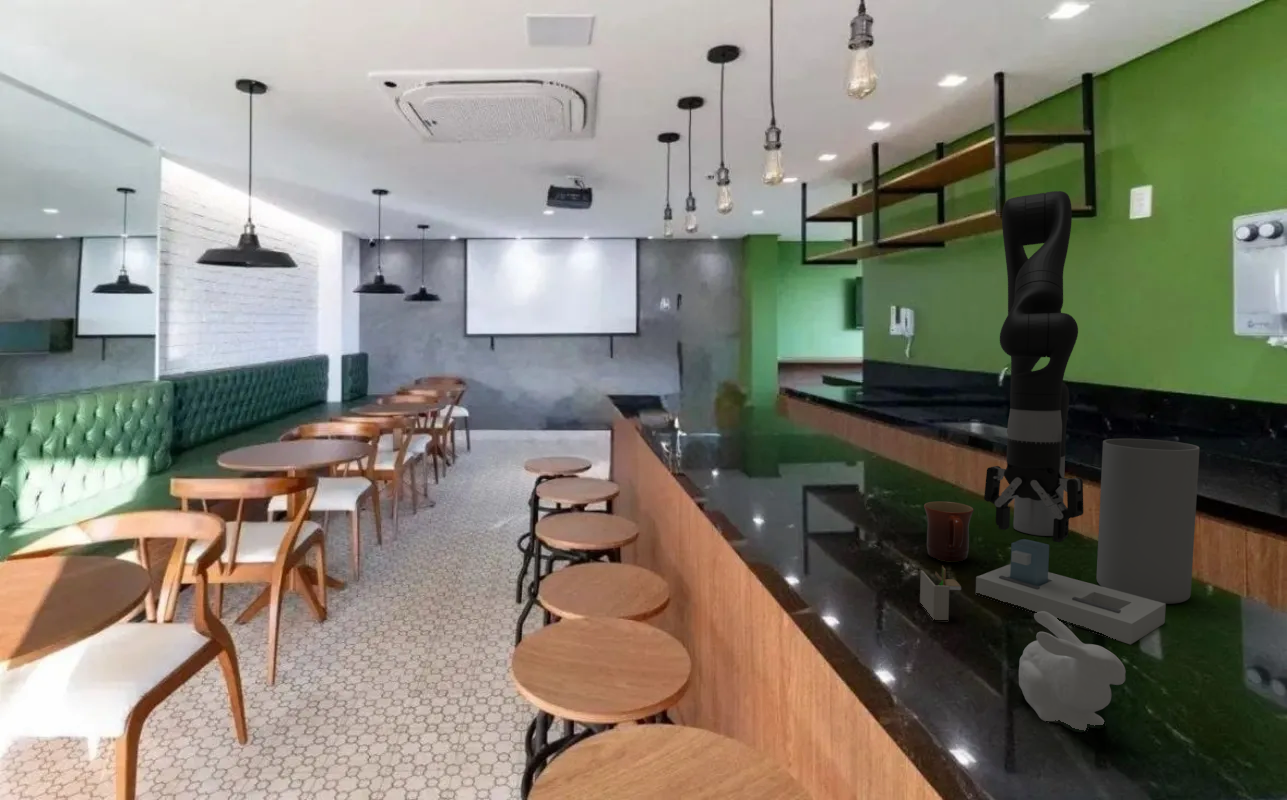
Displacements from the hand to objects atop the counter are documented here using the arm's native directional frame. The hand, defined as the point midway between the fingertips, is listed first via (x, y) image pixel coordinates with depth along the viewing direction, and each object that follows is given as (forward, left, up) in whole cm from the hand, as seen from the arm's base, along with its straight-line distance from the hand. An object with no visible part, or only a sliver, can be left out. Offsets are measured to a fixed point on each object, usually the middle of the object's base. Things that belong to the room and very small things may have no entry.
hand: (1030, 534), depth 105 cm
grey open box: (+18, -5, -11) cm, 22 cm away
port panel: (0, +5, -11) cm, 12 cm away
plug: (0, 0, -11) cm, 11 cm away
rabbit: (+32, +19, -11) cm, 39 cm away
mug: (-6, -18, -11) cm, 22 cm away
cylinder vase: (-18, +9, -11) cm, 23 cm away
